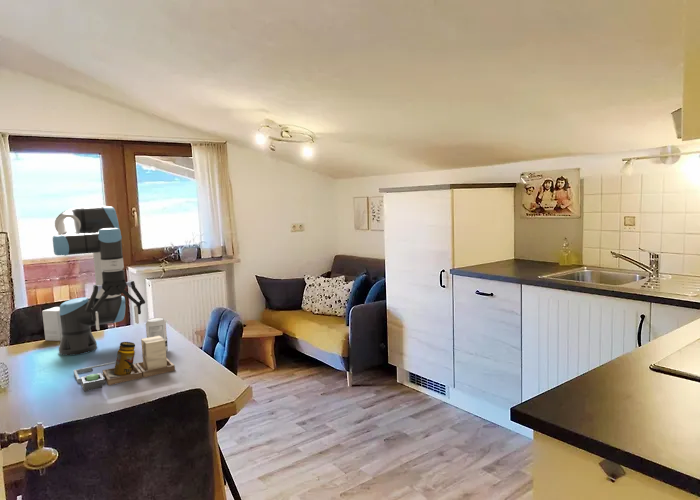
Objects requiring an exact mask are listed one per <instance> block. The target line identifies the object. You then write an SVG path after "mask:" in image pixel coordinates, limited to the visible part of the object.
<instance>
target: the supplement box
mask: <svg viewBox="0 0 700 500" xmlns="http://www.w3.org/2000/svg"><path fill="white" fill-rule="evenodd" d="M41 312H42V313H41V314H42V322H43V330H44V339H45V341H54V342H61V338H62V330H61V319H60V315H59V314H60V306H54V307H51V308H47V309H44V310H42V311H41Z"/></svg>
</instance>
